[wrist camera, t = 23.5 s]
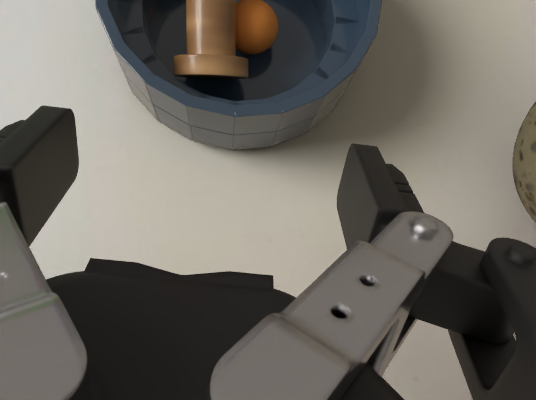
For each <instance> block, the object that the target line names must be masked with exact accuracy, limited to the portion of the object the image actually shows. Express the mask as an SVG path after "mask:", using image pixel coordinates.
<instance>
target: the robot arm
mask: <svg viewBox="0 0 536 400" xmlns="http://www.w3.org/2000/svg"><path fill="white" fill-rule="evenodd" d="M78 166H79V157H78V147H77V137H76V126H75V117H74V113H73V111H72V110H71V109H67V108H59V107H51V106H41V107H40V108H39V109H37V110H36V111H35V112H34V113H33V114H32V115H31V116H30V117H29V118H28V119H26V120H20V121H18V122H15V123H13V124H10V125H8V126H5V127H4V128H3V129H2V130H0V400H404V399H403V398H402V397H401V396H400V395H399V394H398V393H397V392H396V391H395V390H394V389H393V388H392V387H391V386H390V385H389V384H388V383H387V382H386V381H385V380H384V379H383V378H382V376H383V374H384V372H385V370H386V368H387V367H388V365H389V363H390V362H391V360H392V359H393V357H394V356H395V354H396V353H397V351H398V349H399V348H400V346H401V345H402V343H403V342H404V340H405V339H406V337H407V335H408V334H409V332H410V331H411V329H412V328H413V326H414V325H415V323H416V321H417V319H419V320H422V321H425V322H428V323H431V324H434V325H437V326H440V327H442V328H445V329H448V332H449V335H450V338H451V341H452V343H453V346H454V349H455V352H456V354H457V357H458V360H459V363H460V365H461V368H462V371H463V374H464V376H465V379H466V382H467V385H468V387H469V390H470V393H471V395H472V398H473V400H536V248H534V247H532V246H530V245H528V244H526V243H524V242H521V241H518V240H515V239H510V238H496V239H493V240H492V241H491V242H490V243H489V245H488V247H487V249H486V251H485V252H484V251H481V250H478V249H474V248H471V247H468V246H464V245H461V244H458V243H456V242H453V241H452V240H453V233H452V231H451V229H450V228H449V227H448V226H447V225H446V224H445V223H444V222H442V221H441V220H439V219H437V218H435V217H433V216H431V215H428V214H425V213H424V212H423V210H422V208H421V206H420V204H419V202H418V200H417V198H416V196H415V194H413V191H412V189H411V187H410V186H409V183H408V181H407V179H406V177H405V176H404V174H403V173H402V172H401V171H400V170H398V169H397V168H396V167H395V166H394V165H392V164H385V162H384V159H383V157H382V155H381V153H380V151H379V149H378V147H377V146H368V145H360V144H351V146H350V148H349V150H348V154H347V158H346V161H345V165H344V169H343V173H342V177H341V181H340V185H339V189H338V194H337V210H338V214H339V218H340V222H341V226H342V230H343V234H344V238H345V242H346V246H347V251H346V252H345V253H343V254H342V255H341V256H340V257H339V258H338V259H337V260H336V261H335V262H334V263H333V264H332V265H331V266H330V267H329V268H328V269H327V270H326V271H325V272H323V273H322V274H321V275H320V276H319V277H318V278H317V279H316V280H315V281H314V282H313V283H312V284H311V285H310V286H309V287H308V288H307V289H306V290H304V291H303V292H302V293H301V294H300V295H299V296H298V297H297V298H296V297H294V296H292V295H290V294H287V293H285V292H282V291H280V290H276V289H273V276H271V275H261V274H250V273H240V272H230V271H229V272H217V273H205V274H193V275H179V274H175V273H171V272H168V271H164V270H161V269H157V268H154V267H150V266H147V265H143V264H140V263H135V262H125V261H114V260H104V259H93V258H90V261H89V263H88V265H87V267H86V269H85V271H81V272H74V273H68V274H64V275H60V276H56V277H53V278H50V279H47V280H45V278H44V276H43V274H42V272H41V270H40V268H39V266H38V264H37V262H36V260H35V258H34V256H33V254H32V252H31V250H30V248H29V246H30V245H31V243H32V242H33V240H34V239H35V237H36V236H37V235H38V233H39V232H40V230H41V229H42V227H43V226H44V224H45V223H46V221H47V220H48V218H49V217H50V216H51V214H52V213H53V211H54V210H55V208H56V207H57V205H58V204H59V202H60V201H61V199H62V198H63V197H64V195H65V194H66V192H67V191H68V189H69V188H70V186H71V185H72V183H73V182H74V180H75V179H76V176H77V173H78ZM514 332H515V335H516V340H515V338H514V337H513V334H514Z"/></svg>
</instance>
